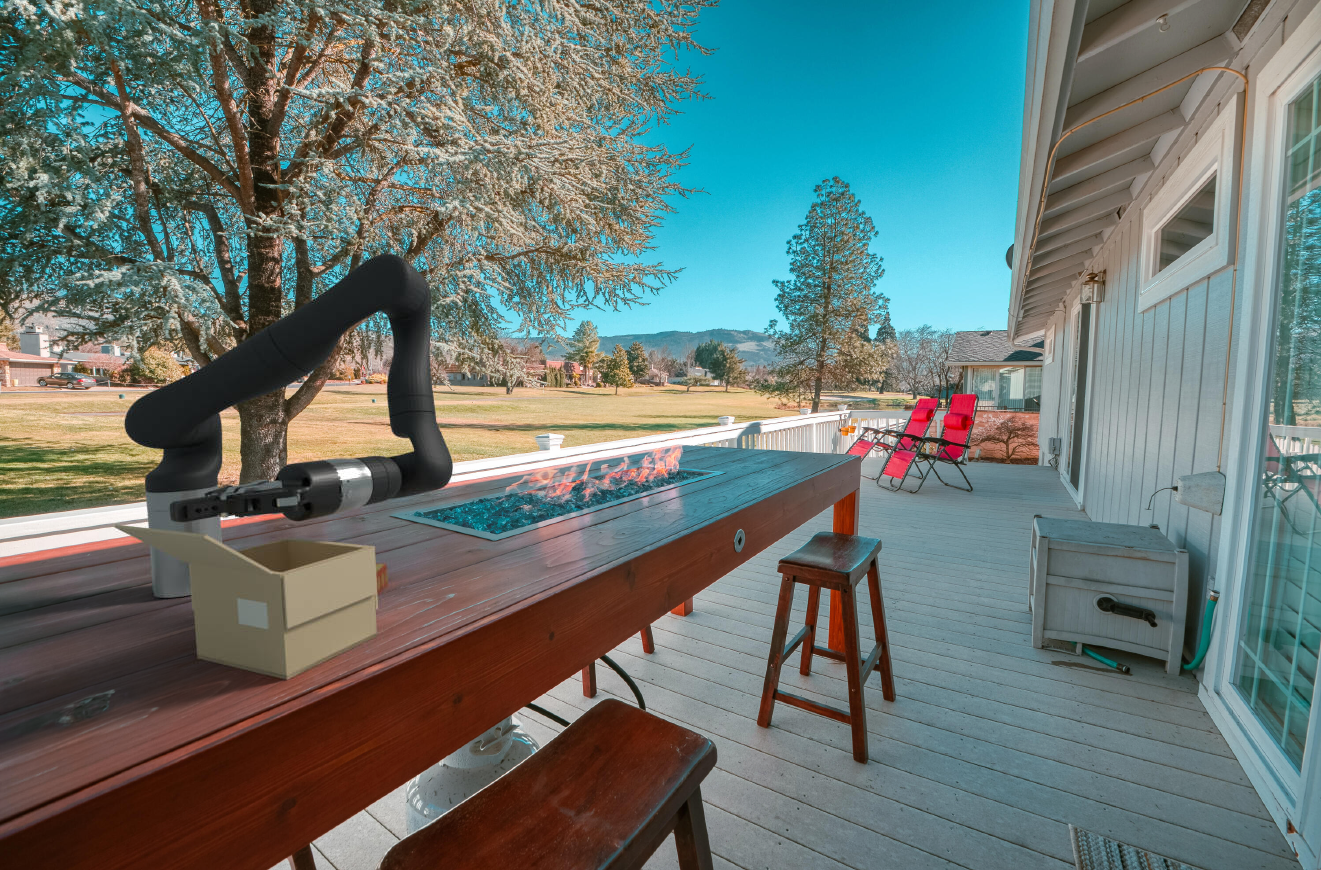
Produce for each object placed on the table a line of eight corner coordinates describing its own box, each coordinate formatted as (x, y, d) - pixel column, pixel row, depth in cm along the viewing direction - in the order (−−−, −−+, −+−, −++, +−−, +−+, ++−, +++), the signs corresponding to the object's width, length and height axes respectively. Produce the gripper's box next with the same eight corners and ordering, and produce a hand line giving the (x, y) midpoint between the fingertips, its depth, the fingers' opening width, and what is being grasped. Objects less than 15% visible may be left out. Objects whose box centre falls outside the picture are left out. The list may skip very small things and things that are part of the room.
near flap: (185, 559, 67) (184, 561, 66) (115, 524, 60) (113, 526, 60) (273, 571, 61) (272, 574, 61) (206, 534, 55) (203, 537, 55)
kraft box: (194, 657, 68) (186, 561, 67) (294, 619, 80) (289, 537, 79) (289, 680, 62) (282, 575, 61) (382, 635, 74) (378, 546, 73)
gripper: (290, 458, 77) (135, 475, 61) (359, 461, 72) (210, 479, 56) (293, 512, 78) (140, 542, 62) (362, 517, 73) (216, 552, 57)
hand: (174, 512), depth 59 cm, fingers closed
